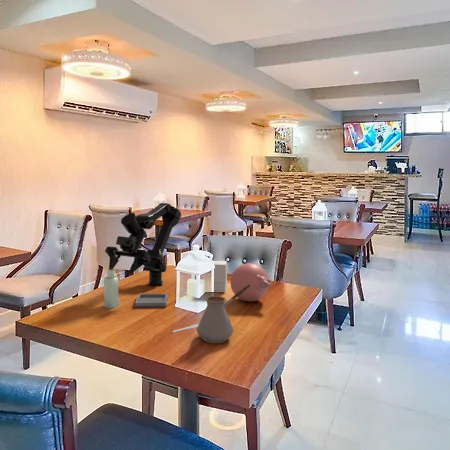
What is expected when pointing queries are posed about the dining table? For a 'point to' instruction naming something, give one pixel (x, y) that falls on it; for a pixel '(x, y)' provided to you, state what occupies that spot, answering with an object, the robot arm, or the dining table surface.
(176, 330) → the butter knife
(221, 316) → the coffee pot
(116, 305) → the glass bottle
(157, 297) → the slate tray
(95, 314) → the dining table surface
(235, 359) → the dining table surface
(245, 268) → the pomegranate
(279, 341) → the dining table surface
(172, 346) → the dining table surface
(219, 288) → the supplement box
